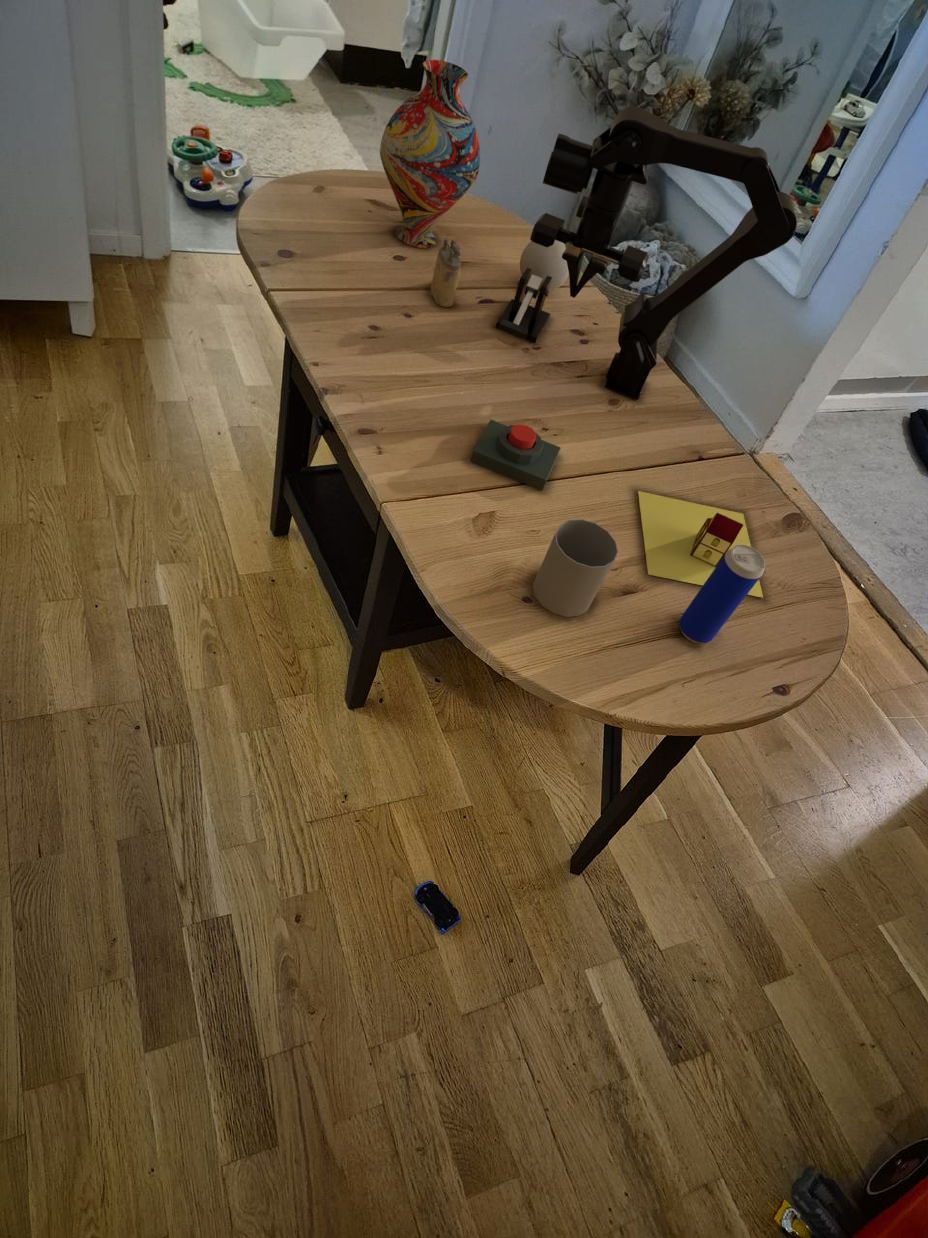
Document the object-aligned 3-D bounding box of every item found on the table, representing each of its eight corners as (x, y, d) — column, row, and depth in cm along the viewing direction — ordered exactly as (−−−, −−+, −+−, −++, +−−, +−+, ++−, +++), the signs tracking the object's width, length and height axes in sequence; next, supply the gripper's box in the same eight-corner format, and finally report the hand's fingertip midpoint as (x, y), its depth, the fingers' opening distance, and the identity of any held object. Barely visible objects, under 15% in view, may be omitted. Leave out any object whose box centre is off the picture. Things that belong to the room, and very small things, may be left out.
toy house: (691, 563, 119) (716, 525, 112) (685, 532, 123) (709, 493, 117) (727, 571, 119) (754, 533, 113) (720, 539, 124) (746, 501, 117)
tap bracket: (535, 343, 147) (550, 297, 140) (495, 327, 147) (508, 280, 140) (548, 319, 153) (563, 273, 146) (510, 303, 154) (523, 257, 146)
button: (535, 439, 123) (539, 430, 122) (529, 453, 120) (532, 444, 119) (512, 429, 123) (515, 420, 122) (504, 444, 121) (507, 434, 119)
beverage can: (707, 618, 112) (761, 545, 101) (716, 647, 109) (772, 576, 98) (674, 613, 111) (724, 540, 100) (681, 643, 108) (734, 571, 97)
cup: (543, 618, 105) (567, 568, 98) (524, 571, 110) (546, 520, 102) (600, 613, 108) (627, 565, 100) (579, 568, 113) (604, 518, 105)
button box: (556, 457, 127) (564, 438, 124) (542, 491, 121) (550, 471, 118) (487, 429, 128) (493, 409, 125) (469, 461, 122) (475, 441, 119)
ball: (518, 297, 156) (532, 248, 148) (510, 270, 162) (523, 222, 154) (566, 304, 158) (582, 256, 151) (556, 277, 164) (572, 230, 157)
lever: (524, 340, 142) (526, 332, 140) (498, 330, 143) (500, 321, 140) (548, 290, 146) (550, 281, 144) (522, 280, 146) (524, 270, 144)
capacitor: (455, 308, 148) (467, 256, 141) (435, 307, 147) (446, 255, 139) (445, 286, 152) (456, 235, 145) (426, 285, 151) (436, 234, 143)
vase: (360, 209, 164) (380, 39, 141) (446, 216, 170) (479, 55, 147) (382, 259, 153) (407, 84, 130) (473, 264, 160) (512, 99, 137)
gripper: (670, 205, 127) (633, 295, 139) (562, 163, 128) (534, 256, 140) (659, 232, 120) (621, 324, 132) (544, 187, 121) (516, 283, 132)
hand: (572, 295), depth 134 cm, fingers closed
